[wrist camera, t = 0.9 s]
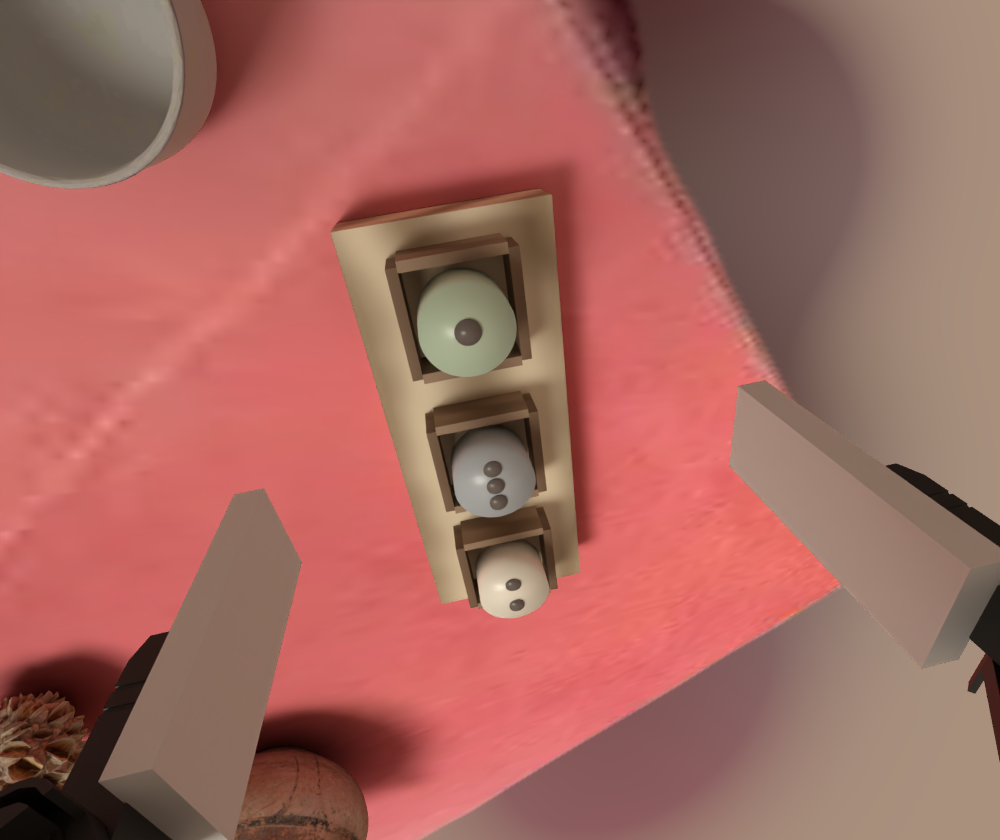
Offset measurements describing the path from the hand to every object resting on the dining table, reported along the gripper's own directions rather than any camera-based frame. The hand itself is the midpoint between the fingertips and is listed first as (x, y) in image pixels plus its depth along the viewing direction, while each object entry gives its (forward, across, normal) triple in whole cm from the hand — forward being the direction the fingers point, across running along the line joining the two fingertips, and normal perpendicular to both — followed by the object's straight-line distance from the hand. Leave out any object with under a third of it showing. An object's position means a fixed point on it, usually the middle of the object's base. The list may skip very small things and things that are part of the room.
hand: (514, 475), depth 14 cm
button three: (+16, 0, -11) cm, 19 cm away
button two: (+16, 0, -21) cm, 26 cm away
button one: (+16, 0, -1) cm, 16 cm away
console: (+21, 0, -11) cm, 23 cm away
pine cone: (+21, -46, -33) cm, 60 cm away
